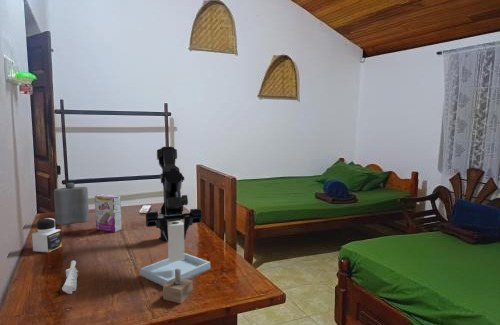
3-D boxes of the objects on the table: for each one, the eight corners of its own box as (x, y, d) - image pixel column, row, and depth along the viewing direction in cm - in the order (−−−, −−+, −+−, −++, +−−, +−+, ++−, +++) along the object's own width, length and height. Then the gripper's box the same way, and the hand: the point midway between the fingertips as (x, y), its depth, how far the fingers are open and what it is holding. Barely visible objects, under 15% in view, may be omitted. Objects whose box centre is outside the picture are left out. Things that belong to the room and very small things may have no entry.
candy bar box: (95, 230, 157) (93, 195, 155) (103, 227, 162) (101, 193, 160) (114, 232, 153) (113, 197, 152) (122, 229, 158) (121, 195, 156)
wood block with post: (175, 289, 100) (175, 264, 100) (192, 293, 98) (192, 267, 97) (163, 299, 95) (162, 272, 94) (181, 303, 93) (180, 276, 92)
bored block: (168, 255, 113) (167, 221, 112) (183, 254, 115) (182, 220, 114) (168, 261, 109) (168, 225, 107) (184, 260, 110) (183, 224, 109)
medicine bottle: (48, 252, 129) (46, 222, 128) (32, 251, 131) (30, 221, 129) (62, 246, 136) (60, 217, 135) (47, 245, 137) (45, 216, 136)
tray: (183, 258, 124) (183, 252, 123) (210, 269, 115) (210, 262, 115) (140, 275, 110) (140, 268, 109) (167, 288, 101) (167, 280, 101)
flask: (88, 218, 176) (86, 181, 174) (89, 221, 171) (87, 183, 169) (55, 223, 168) (53, 183, 166) (55, 226, 163) (53, 185, 161)
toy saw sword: (81, 265, 118) (76, 293, 98) (68, 267, 117) (61, 296, 97) (80, 258, 118) (76, 284, 98) (67, 260, 117) (60, 287, 97)
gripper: (144, 188, 110) (145, 231, 101) (201, 185, 116) (207, 226, 106) (145, 206, 119) (146, 247, 109) (198, 202, 124) (203, 241, 115)
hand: (176, 240), depth 110 cm, fingers closed on bored block, 5 cm apart
